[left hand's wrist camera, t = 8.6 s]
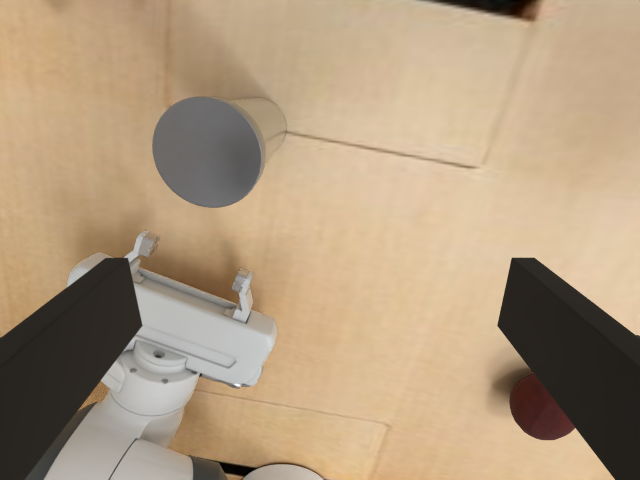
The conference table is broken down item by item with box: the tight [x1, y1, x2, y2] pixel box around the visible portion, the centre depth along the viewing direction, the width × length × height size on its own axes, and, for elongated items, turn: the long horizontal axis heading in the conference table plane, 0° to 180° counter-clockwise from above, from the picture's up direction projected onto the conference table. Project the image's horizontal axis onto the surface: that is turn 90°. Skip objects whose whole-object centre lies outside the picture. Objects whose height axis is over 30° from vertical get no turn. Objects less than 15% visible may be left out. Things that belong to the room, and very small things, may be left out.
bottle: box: [230, 98, 287, 163], centre depth 28 cm, size 5×5×17 cm
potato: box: [510, 374, 575, 440], centre depth 45 cm, size 7×8×7 cm
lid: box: [152, 96, 266, 208], centre depth 21 cm, size 6×6×2 cm
